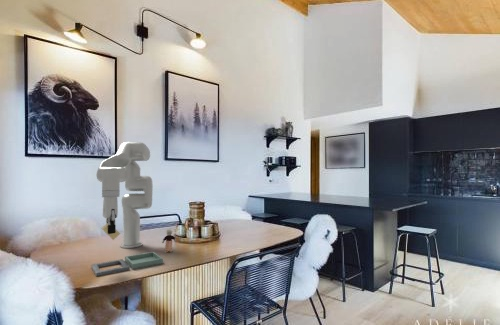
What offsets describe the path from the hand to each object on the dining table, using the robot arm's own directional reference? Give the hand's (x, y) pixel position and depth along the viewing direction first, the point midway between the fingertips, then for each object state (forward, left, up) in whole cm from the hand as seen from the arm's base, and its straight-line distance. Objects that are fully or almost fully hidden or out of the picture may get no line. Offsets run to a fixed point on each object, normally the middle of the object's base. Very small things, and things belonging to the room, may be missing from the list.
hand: (110, 232), depth 140 cm
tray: (0, +15, -17) cm, 23 cm away
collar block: (0, 0, -17) cm, 17 cm away
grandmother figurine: (-11, +33, -17) cm, 39 cm away
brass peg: (0, +2, -2) cm, 3 cm away
